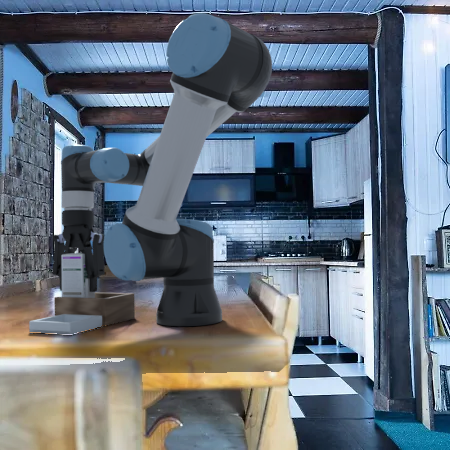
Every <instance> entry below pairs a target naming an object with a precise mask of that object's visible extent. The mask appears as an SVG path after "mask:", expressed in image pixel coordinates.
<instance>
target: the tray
mask: <svg viewBox="0 0 450 450" xmlns="http://www.w3.org/2000/svg"><path fill="white" fill-rule="evenodd" d="M28 324H29V328H28V329H29V332H41V333H57V334H74V333H77V332H81V331H85V330H89V329H94V328H97V327H101V326H102V316H97V315H75V314H61V315H56V316H55V315H53V316H47V317H43V318H38V319H34V320H29V322H28ZM102 327H103V326H102ZM102 327H101V328H102ZM97 329H98V328H97ZM94 330H95V329H94Z"/></svg>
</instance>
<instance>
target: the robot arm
mask: <svg viewBox="0 0 450 450" xmlns="http://www.w3.org/2000/svg"><path fill="white" fill-rule="evenodd" d="M166 47H167V48H166V57H167V59H166V61H167V65H168V67H169V69H170V71H171V72H172V74H171V77H170V80H169V83H170V84H171V87H172V89H173V93H174V94H173V97H172V99H171V101H170V105H169V108H168V111H167V115H166V117H165V120H164V123H163V126H162V129H161V131H160V134H159V136H158V137H157V138H156V139H154V141H153V142H152V143H150V145H149V146H147V147H146V148H145V149H144V150H143V151H142V152H141V153H139V154H137V153H136V154H135V153H128V152H124V151H123V150H121V149H120V148H118V147H103V148H100V149H96V150H94V149H93V147H92V146H90V145H85V144H73V145H72V144H70V145H65V146H64V147H63V148H62V150H61V151H62V152H61V159H60V160H61V161H60V165H61V170H60V171H61V208H62V209H63V210H62V211H61V224H62V226H63V230H62V232H61V233H60V234H53V235H52V240H53V241H52V242H53V257H52V258H53V259H52V275H53V276H57V277H58V278H59V290H60V291H61V292H62V257H61V255H62V254H71V253H76V251H78V249H79V252H80V253H82V254H85V267H86V271H87V274H88V276H87V277H86V278H87V279H85V298H95V292H97V291H98V278H99V277H101V276H104V275H105V262H106V264H107V267H108V269H109V270H110V272H111V274H113V275H114V276H115V277H116V278H118V279H119V280H123V281H135V282H139V281H143V280H153V279H155V280H156V279H163V287H162V288H163V289H162V293H161V297H160V300H159V304H158V307H157V310H156V312H155V314H156V316H155V317H156V318H155V320H156V321H155V322H156V324H159V325H162V326H168V327H169V326H170V327H171V326H172V327H195V326H196V327H199V326H200V327H201V326H208V325H213V324H218V323H221V322H222V321H223V311H222V307H221V304H220V301H219V298H218V295H217V292H216V289H215V271H214V269H215V263H214V261H215V258H214V255H215V254H214V250H215V248H214V245H215V244H214V243H215V239H214V233H213V231H214V230H213V227H212V226H211V224H210V223H208V222H206V221H203V220H198V219H192V218H191V219H187V218H177V217H178V215H179V212H180V209H181V207H182V204H183V201H184V199H185V195H186V194H187V190H188V188H189V186H190V185H189V184H190V182H191V181H192V177H193V174H194V172H195V168H196V165H197V164H198V160H199V158H200V155H201V153H202V150H203V148H204V144H205V142H206V139H207V138H208V137H209V136H210V135H211V134H212V133H213V132H215V130H217V129H218V128H219V127H220V126H221V125H222V124H223V123H226V121H227V120H229V118H231V117H232V116H233V115H234V114H235V113H243V112H245V111H246V110H247V109H248V108H249V107H251V106H252V105H253V104H254V103H255V102H256V101H257V100H258V99H259V98H260V97H261V96H262V94H263V93H264V91H265V89H266V88H267V86H268V85H269V82H270V80H271V76H272V71H273V60H272V55H271V53H270V50H269V48H268V46H267V45H266V44H265V42H264V41H263V40H262V39H260V38H259V36H258V37H257V36H256V35H255V34H253V33H250V32H247V31H245V30H243V29H242V28H239V27H238V26H236V25H234V24H232V23H231V22H228V21H227V20H225V19H222V18H221V17H217V16H214V15H212V14H208V13H204V12H203V13H201V12H198V13H193V14H191V15H189V16H187V18H186V19H183V20H182V21H181V22H180V23H179V24H178V25H177V26H176V27H175V29H174V30H173V32H172V34H171V35H170V37H169V40H168V41H167V46H166ZM101 183H102V184H103V183H104V184H105V183H106V184H117V185H131V186H137V187H138V186H140V187H141V190H140V193H139V196H138V199H137V201H136V204H135V205H133V206H131V207H129V208H127V209H126V211H125V213H124V217H123V220H122V222H121V223H119V222H116V223H114V224H113V225H112V226H110V227H108V229H107V230H106V232H105V234H103V233H96V232H95V231H94V228H93V227H94V225H95V212H94V211H93V210H92V209H93V208H95V203H94V202H95V200H94V197H95V195H94V193H95V188H94V187H95V184H101ZM91 241H92V243H91ZM104 257H105V259H104Z"/></svg>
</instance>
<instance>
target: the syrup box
mask: <svg viewBox="0 0 450 450" xmlns="http://www.w3.org/2000/svg"><path fill="white" fill-rule="evenodd" d="M61 257H62V291H61V297H79V298H85V279H87V278H86V277H87V276H88V274H87V271H86V267H85V254H82V253H81V252H75V253H71V254H62V255H61Z"/></svg>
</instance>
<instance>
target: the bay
mask: <svg viewBox="0 0 450 450" xmlns="http://www.w3.org/2000/svg"><path fill="white" fill-rule="evenodd" d="M53 299H54V316H56V315H61V314H75V315H97V316H102V325H108V326H110V325H109V324H112V325H115V324H118V322H119V323H122V322H126V321H129V320H134V319H135V318H136V316H135V315H136V314H135V310H136V309H135V293H134V292H133V293H131V292H127V293H126V292H125V293H124V292H97V291H95V298H79V297H62V296H55V297H54V298H53ZM114 323H115V324H114Z"/></svg>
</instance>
